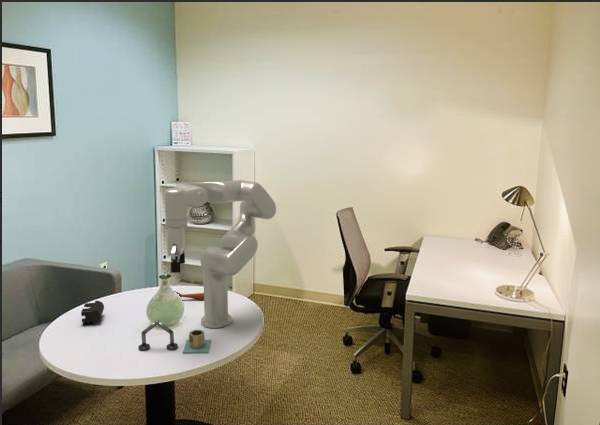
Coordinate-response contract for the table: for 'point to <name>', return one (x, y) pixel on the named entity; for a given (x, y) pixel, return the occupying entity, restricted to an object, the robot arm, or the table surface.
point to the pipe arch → (172, 345)
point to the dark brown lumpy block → (92, 313)
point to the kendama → (193, 295)
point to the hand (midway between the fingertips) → (178, 267)
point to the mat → (202, 350)
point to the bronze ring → (196, 339)
